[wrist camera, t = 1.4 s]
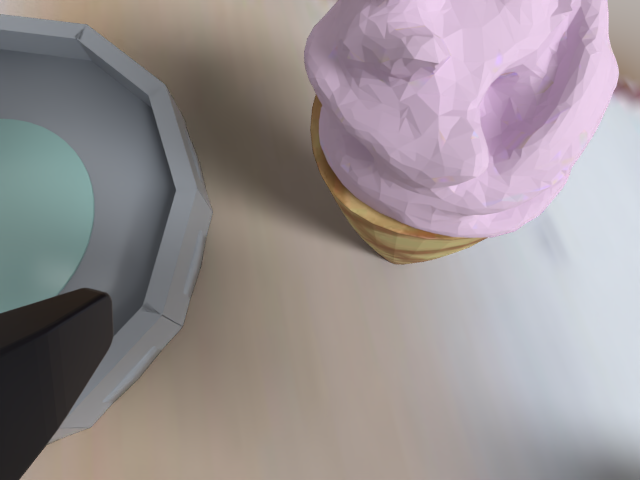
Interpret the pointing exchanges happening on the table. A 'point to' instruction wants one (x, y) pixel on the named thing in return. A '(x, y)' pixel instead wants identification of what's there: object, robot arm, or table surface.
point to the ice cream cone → (453, 114)
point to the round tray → (96, 194)
